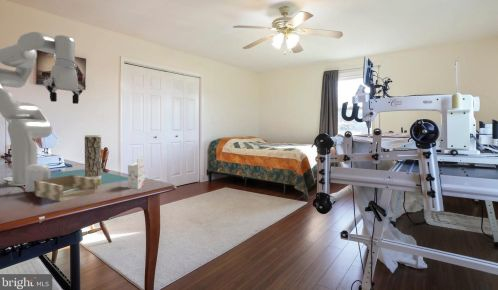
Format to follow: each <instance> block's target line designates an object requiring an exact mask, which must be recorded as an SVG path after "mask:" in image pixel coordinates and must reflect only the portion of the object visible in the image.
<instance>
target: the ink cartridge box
mask: <svg viewBox="0 0 498 290" xmlns="http://www.w3.org/2000/svg"><path fill="white" fill-rule="evenodd" d="M145 167H146V163H145V157H140V158H138V159H136V162H134V163H131V164H128V165H127V179H128V180H127V181H128V182H127V183H128V185H127V187H128V189H133V190H139V189H141V188H143V187H144V186H145V177H146V176H145V173H146V172H145Z"/></svg>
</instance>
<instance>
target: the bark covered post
mask: <svg viewBox="0 0 498 290" xmlns="http://www.w3.org/2000/svg"><path fill="white" fill-rule="evenodd" d="M84 177H88V178H94V179H97V185H98V187H100V186H102V136H101V135H99V134H98V135H96V134H95V135H94V134H92V135H84Z"/></svg>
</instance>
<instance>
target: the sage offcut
mask: <svg viewBox="0 0 498 290" xmlns="http://www.w3.org/2000/svg"><path fill="white" fill-rule="evenodd" d="M77 190H80V188H74V189H68V190H63V194H64V193H68V192H72V191H77Z"/></svg>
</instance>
